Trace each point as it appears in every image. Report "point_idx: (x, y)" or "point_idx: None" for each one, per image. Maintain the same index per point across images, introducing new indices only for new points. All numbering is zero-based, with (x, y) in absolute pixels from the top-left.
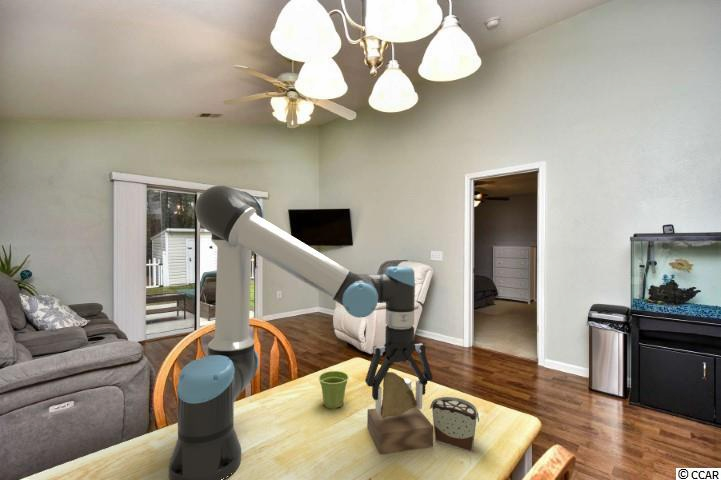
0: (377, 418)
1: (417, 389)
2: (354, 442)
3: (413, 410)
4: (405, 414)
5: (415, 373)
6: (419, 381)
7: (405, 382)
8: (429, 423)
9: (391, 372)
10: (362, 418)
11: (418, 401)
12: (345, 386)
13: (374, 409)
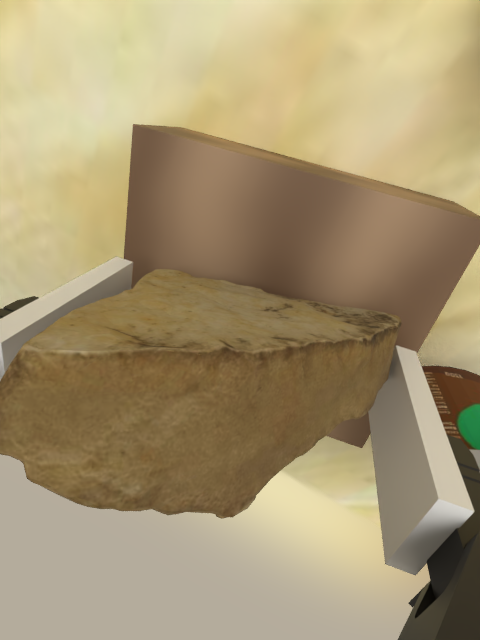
0: (150, 255)
1: (399, 464)
2: (91, 213)
3: (399, 291)
4: (319, 300)
5: (436, 618)
6: (451, 533)
7: (282, 468)
8: (366, 425)
9: (56, 492)
10: (192, 8)
11: (377, 414)
12: None
13: (175, 148)
